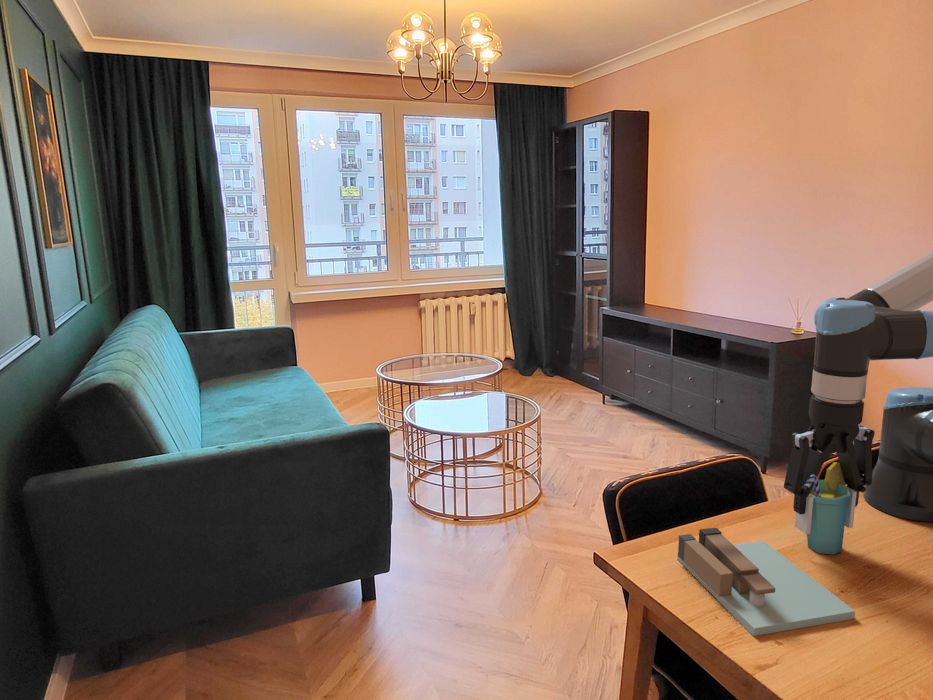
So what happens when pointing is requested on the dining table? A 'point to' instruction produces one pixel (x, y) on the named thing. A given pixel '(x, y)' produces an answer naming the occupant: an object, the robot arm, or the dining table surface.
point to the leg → (735, 562)
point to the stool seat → (772, 612)
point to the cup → (828, 511)
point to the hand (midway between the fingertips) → (823, 526)
